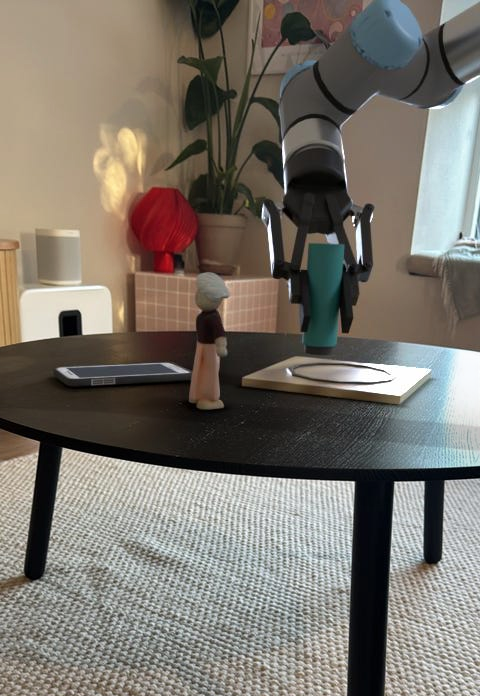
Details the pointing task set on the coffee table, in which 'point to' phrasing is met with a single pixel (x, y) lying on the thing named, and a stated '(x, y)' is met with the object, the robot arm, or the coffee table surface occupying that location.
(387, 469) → the coffee table surface
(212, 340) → the grandmother figurine
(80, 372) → the cell phone
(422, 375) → the board
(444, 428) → the coffee table surface
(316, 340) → the cylinder
